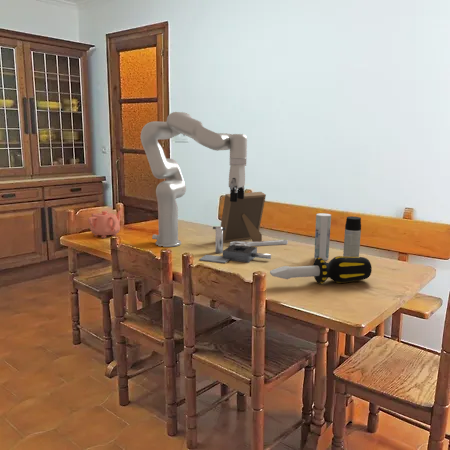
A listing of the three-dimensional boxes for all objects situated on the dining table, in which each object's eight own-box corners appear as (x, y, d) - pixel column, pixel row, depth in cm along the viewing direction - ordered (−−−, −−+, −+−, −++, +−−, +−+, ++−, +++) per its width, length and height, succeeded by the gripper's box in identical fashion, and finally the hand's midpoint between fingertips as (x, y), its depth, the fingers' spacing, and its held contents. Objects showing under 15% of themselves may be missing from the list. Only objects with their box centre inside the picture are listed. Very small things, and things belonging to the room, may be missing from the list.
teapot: (92, 232, 257) (91, 208, 254) (123, 232, 259) (123, 208, 256) (87, 239, 241) (86, 213, 239) (121, 238, 243) (120, 213, 241)
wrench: (290, 241, 233) (233, 245, 224) (290, 245, 233) (233, 249, 224) (284, 238, 240) (228, 241, 232) (284, 241, 241) (228, 245, 232)
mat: (199, 260, 204) (199, 259, 204) (206, 255, 212) (206, 254, 212) (225, 263, 200) (225, 262, 200) (231, 258, 208) (231, 257, 208)
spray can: (359, 261, 205) (362, 216, 201) (358, 265, 199) (361, 219, 195) (343, 260, 207) (346, 215, 203) (342, 264, 201) (344, 218, 197)
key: (211, 252, 218) (211, 227, 215) (214, 251, 221) (214, 226, 218) (223, 254, 216) (224, 228, 213) (226, 252, 219) (226, 227, 216)
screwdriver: (275, 291, 166) (276, 264, 164) (266, 282, 176) (267, 256, 174) (374, 284, 175) (376, 258, 173) (360, 276, 185) (362, 251, 182)
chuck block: (222, 259, 206) (222, 250, 205) (231, 253, 217) (232, 244, 216) (266, 264, 199) (266, 255, 198) (273, 257, 210) (274, 249, 209)
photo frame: (218, 241, 240) (219, 192, 235) (253, 236, 252) (254, 190, 246) (234, 247, 228) (235, 196, 223) (269, 242, 239) (272, 194, 234)
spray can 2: (313, 256, 213) (315, 213, 209) (327, 256, 213) (329, 213, 209) (314, 260, 207) (317, 215, 203) (329, 260, 206) (332, 216, 202)
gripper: (236, 160, 218) (235, 197, 222) (223, 163, 203) (222, 202, 206) (251, 161, 216) (250, 198, 219) (239, 163, 200) (239, 203, 203)
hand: (237, 200), depth 213 cm, fingers open, 9 cm apart
